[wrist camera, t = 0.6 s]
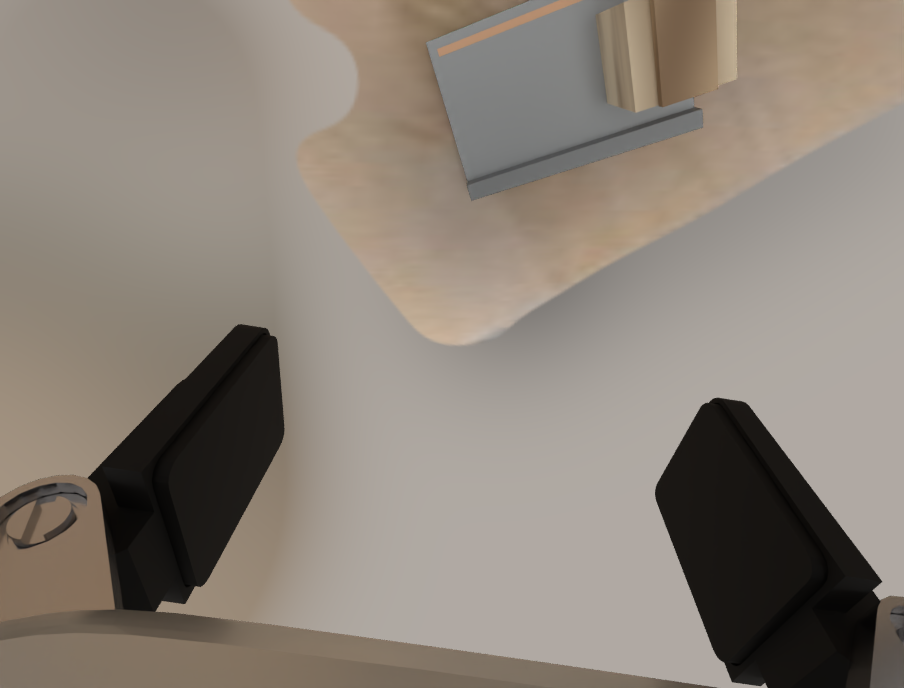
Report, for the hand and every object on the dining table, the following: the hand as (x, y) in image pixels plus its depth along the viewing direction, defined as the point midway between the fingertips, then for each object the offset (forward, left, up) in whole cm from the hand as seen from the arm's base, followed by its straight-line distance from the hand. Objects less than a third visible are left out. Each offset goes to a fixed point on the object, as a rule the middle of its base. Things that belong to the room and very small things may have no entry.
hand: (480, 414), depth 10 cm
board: (-6, -4, -25) cm, 26 cm away
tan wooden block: (-10, -4, -23) cm, 26 cm away
